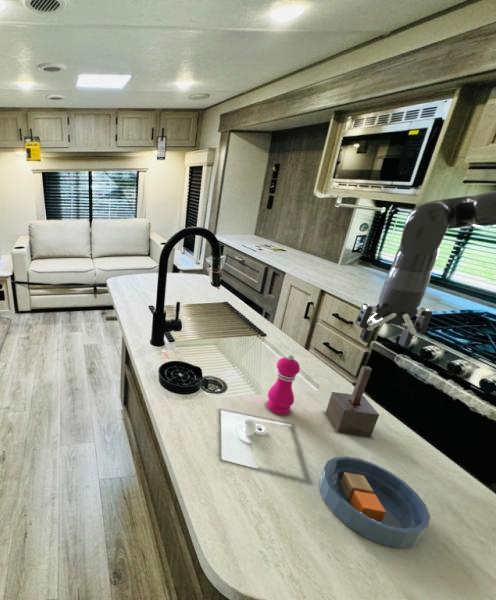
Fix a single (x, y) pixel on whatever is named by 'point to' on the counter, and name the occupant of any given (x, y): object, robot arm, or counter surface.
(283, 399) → the pepper mill
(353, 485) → the block
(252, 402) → the counter surface
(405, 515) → the bowl
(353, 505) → the block
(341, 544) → the counter surface
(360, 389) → the stir stick
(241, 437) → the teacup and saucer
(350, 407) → the stick stand
